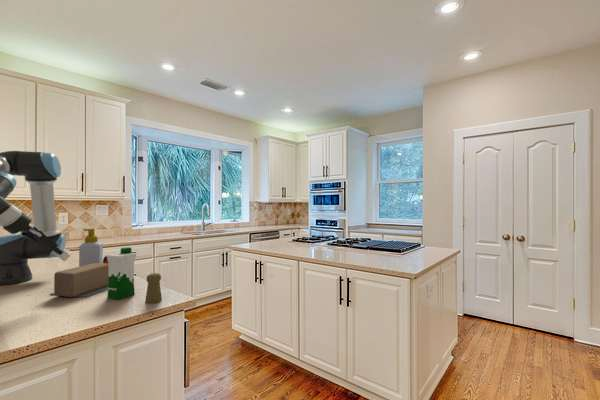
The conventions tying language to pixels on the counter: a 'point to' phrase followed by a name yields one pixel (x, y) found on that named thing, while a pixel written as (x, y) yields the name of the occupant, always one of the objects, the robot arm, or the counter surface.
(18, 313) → the counter surface
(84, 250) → the soap bottle
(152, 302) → the olive peg figure
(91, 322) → the counter surface
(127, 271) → the milk carton
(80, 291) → the block
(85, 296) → the mat
